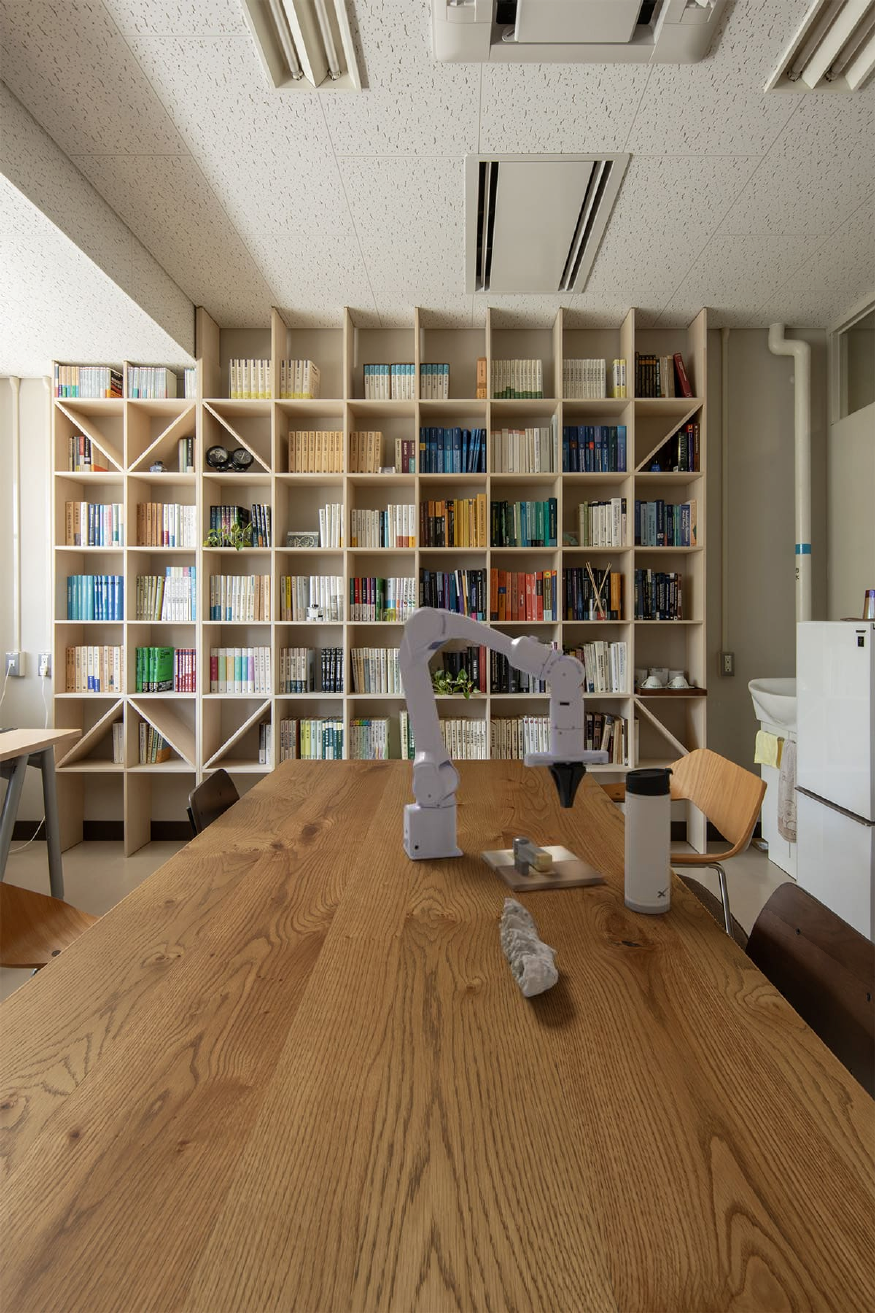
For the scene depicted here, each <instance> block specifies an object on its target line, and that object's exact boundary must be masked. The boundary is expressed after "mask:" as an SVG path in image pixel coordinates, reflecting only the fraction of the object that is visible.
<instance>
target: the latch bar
mask: <svg viewBox="0 0 875 1313" xmlns="http://www.w3.org/2000/svg"><path fill="white" fill-rule="evenodd" d="M512 840H513V842H512V843H513V845H512V846H513V848H512V849H513V854H514V855H523V856H524V857H525V858H526V859H527V860H528V861H529V864H531V865H532V866H534V867H535V868H536V869H537V870H539V871H544V870H552V855H551V854H549V853H548V852H546V851H544V850H542V849H541V848H539V847H540V846H537V845H536V844H534V843H533V842H532V841H531V838H530V837H526V836H516V837H513V839H512Z"/></svg>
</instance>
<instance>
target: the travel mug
mask: <svg viewBox="0 0 875 1313" xmlns="http://www.w3.org/2000/svg"><path fill="white" fill-rule="evenodd" d="M670 775H671V776H674V770H673V769H672V768H671V767H664V768H663V767H662V768H661V767H657V768H656V767H649V768H640V769H639V768H638V769H634V770H630V771H628V772H626V775H625V790H624V791H625V792H624V793H625V796H624V809H625V810H624V905H625V906H626V907H627V908H628V909H630V910H632V911H634V912H636V913H640V914H646V915H647V914H648V915H659V914H664V913H666V912H668V911H669V910H670V908H671V897H670V896H671V778H670Z"/></svg>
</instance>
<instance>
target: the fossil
mask: <svg viewBox="0 0 875 1313" xmlns="http://www.w3.org/2000/svg"><path fill="white" fill-rule="evenodd" d="M504 901H505V902H504V906H503V915H502V916H501V918H500V919H501V921H502V922H501V923H500V924H499V925H498V928H499V932H500V937H499V938H500V943H501V947H502V949H503V950H502V951H503V953H504V955H505V956H506V958H507V962H508V963H511V964H510V970H511V974H512V975H513V978H514V979H515V982H516V984H517V986H518V987H519V988H520V990H521V991H522V994H523V997H526V998H527V997H529V998H530V997H533V996H534V995H539V994H542V993H543V992H544V991H547V990H549V989H551V988H552V987H553V986H554V985H555V984H556V983H558V979H559V971H558V969H556V966H555V964H554V957H555V956H556V955H557V954H558V951H556V950H555V949H554V948H552V947H551V946H549V945H548V944H546V943H544V942H543V941H541V940H540V938H539V936H538V935H539V934H538V932H537V931H538V930H537V926H536V923H535V919H533V917H532V915H531V913H530V912H529V910H527V909H526V908H525V907H524V906H523V904H522V903H520V902H518V901H517V899H515V898H510V897H505V898H504Z"/></svg>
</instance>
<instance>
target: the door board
mask: <svg viewBox="0 0 875 1313" xmlns="http://www.w3.org/2000/svg"><path fill="white" fill-rule="evenodd" d="M538 847H539V848H541V849H542V850H544V851H546V852H548V853H549V854H551V855H552V870H544V871H539V870H537V869H536V868H535V867H534V866H532V865H531V864H529V861H528V860H527V859H526V858H525V857H524V856H523V855H514V854H513V848H512V849H502V850H501V849H499V850H498V849H497V850H488V851H486V850H485V851H481V858H482V859H483V861H484V862H485V863H486V864H487V865H488V866H489V867H490V868H491V869H492V870H493V872H495V873H496V875H497V876H499V878H500V879H501V880H502V881H503V882H504V883H505V884H506V885H507V886H508V888H509V889H510V890H511V891H512V892H514V893H515V892H524V891H536V890H545V889H546V890H547V889H557V888H558V889H559V888H569V887H580V886H589V885H590V886H593V885H601V884H605V877H604V876H603V875H602V874H600V873H599V872H598V871H597V870H595V869H593V868H592V867H591V866H590V865H588V864H587V863H586V862H584V861H583V860H581V859H580V858H578V857H577V856H576V855H575V854H573V853H572V852H571V851H570V850H568V849H566V848H565V847H564V846H562V845H552V846H541V847H540V846H538Z"/></svg>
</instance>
